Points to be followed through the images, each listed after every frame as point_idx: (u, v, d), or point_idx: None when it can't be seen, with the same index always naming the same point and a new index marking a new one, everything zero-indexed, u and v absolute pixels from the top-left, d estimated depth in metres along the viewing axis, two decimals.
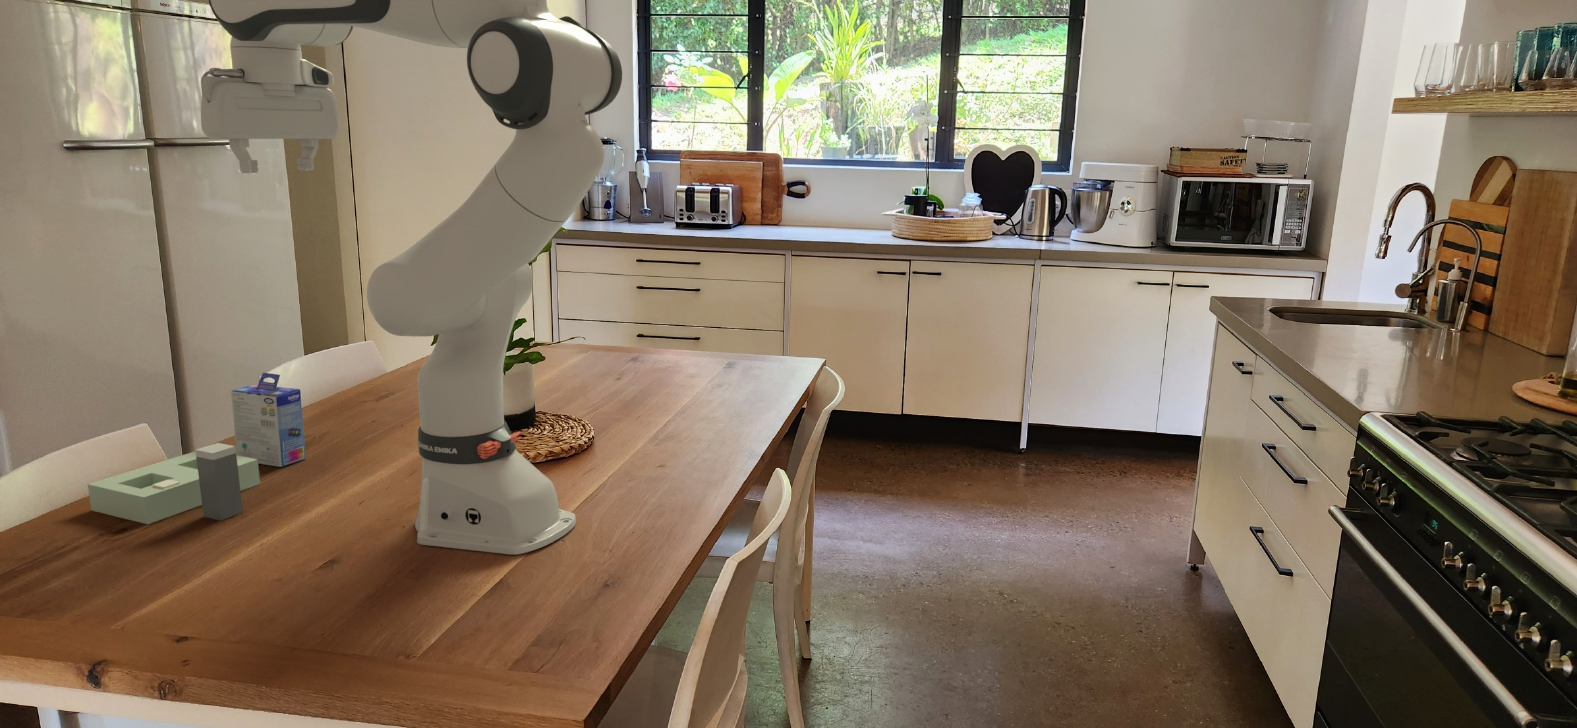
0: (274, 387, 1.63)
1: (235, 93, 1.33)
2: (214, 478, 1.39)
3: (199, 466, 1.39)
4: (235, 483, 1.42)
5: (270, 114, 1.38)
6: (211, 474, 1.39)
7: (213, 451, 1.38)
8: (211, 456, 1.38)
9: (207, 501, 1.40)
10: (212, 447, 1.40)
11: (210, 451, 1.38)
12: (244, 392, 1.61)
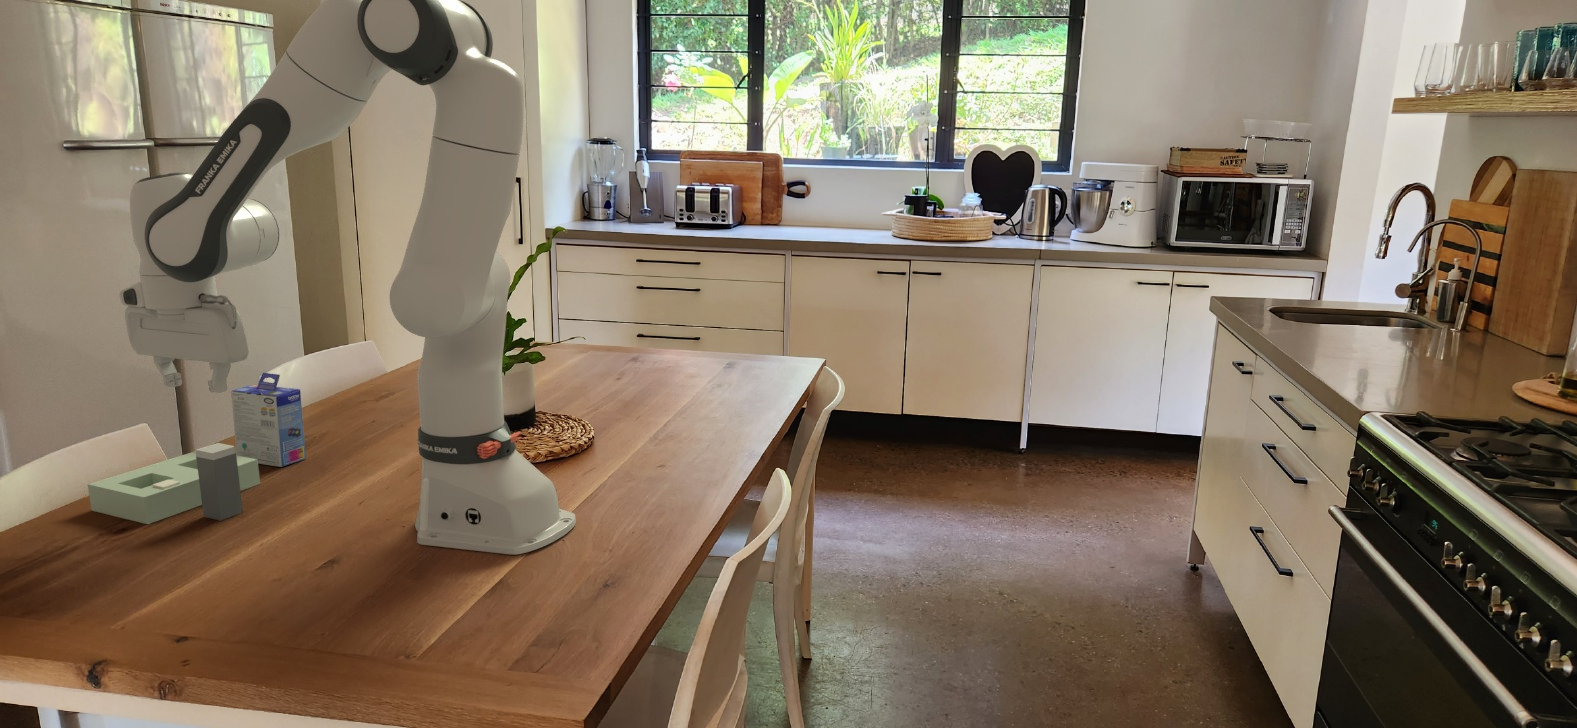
0: (274, 387, 1.63)
1: None
2: (214, 478, 1.39)
3: (199, 466, 1.39)
4: (235, 483, 1.42)
5: None
6: (211, 474, 1.39)
7: (213, 451, 1.38)
8: (211, 456, 1.38)
9: (207, 501, 1.40)
10: (212, 447, 1.40)
11: (210, 451, 1.38)
12: (244, 392, 1.61)
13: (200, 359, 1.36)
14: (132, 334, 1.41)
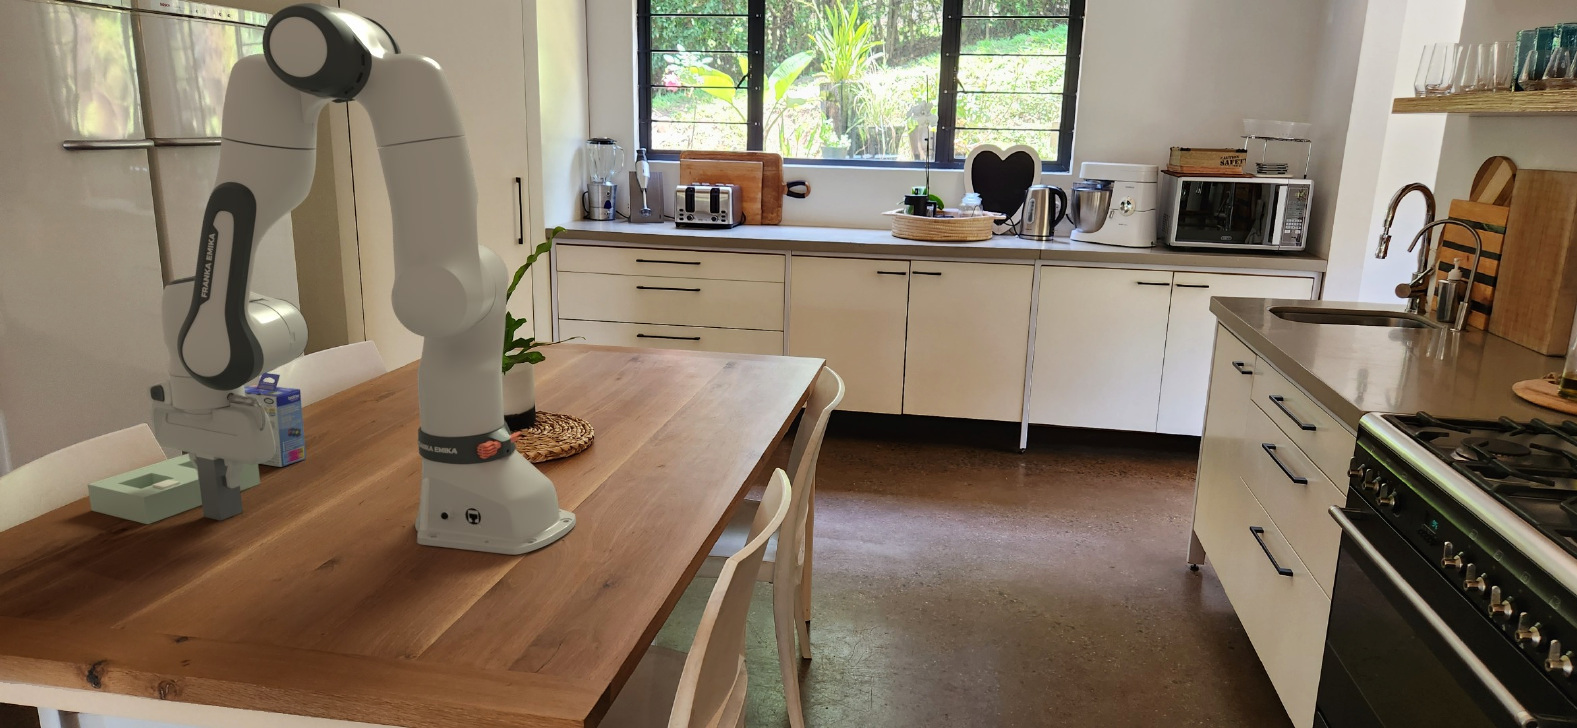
0: (274, 387, 1.63)
1: None
2: (214, 478, 1.39)
3: (199, 466, 1.39)
4: None
5: None
6: (212, 474, 1.39)
7: None
8: (211, 456, 1.38)
9: (207, 501, 1.40)
10: None
11: None
12: None
13: (226, 458, 1.37)
14: (157, 427, 1.41)
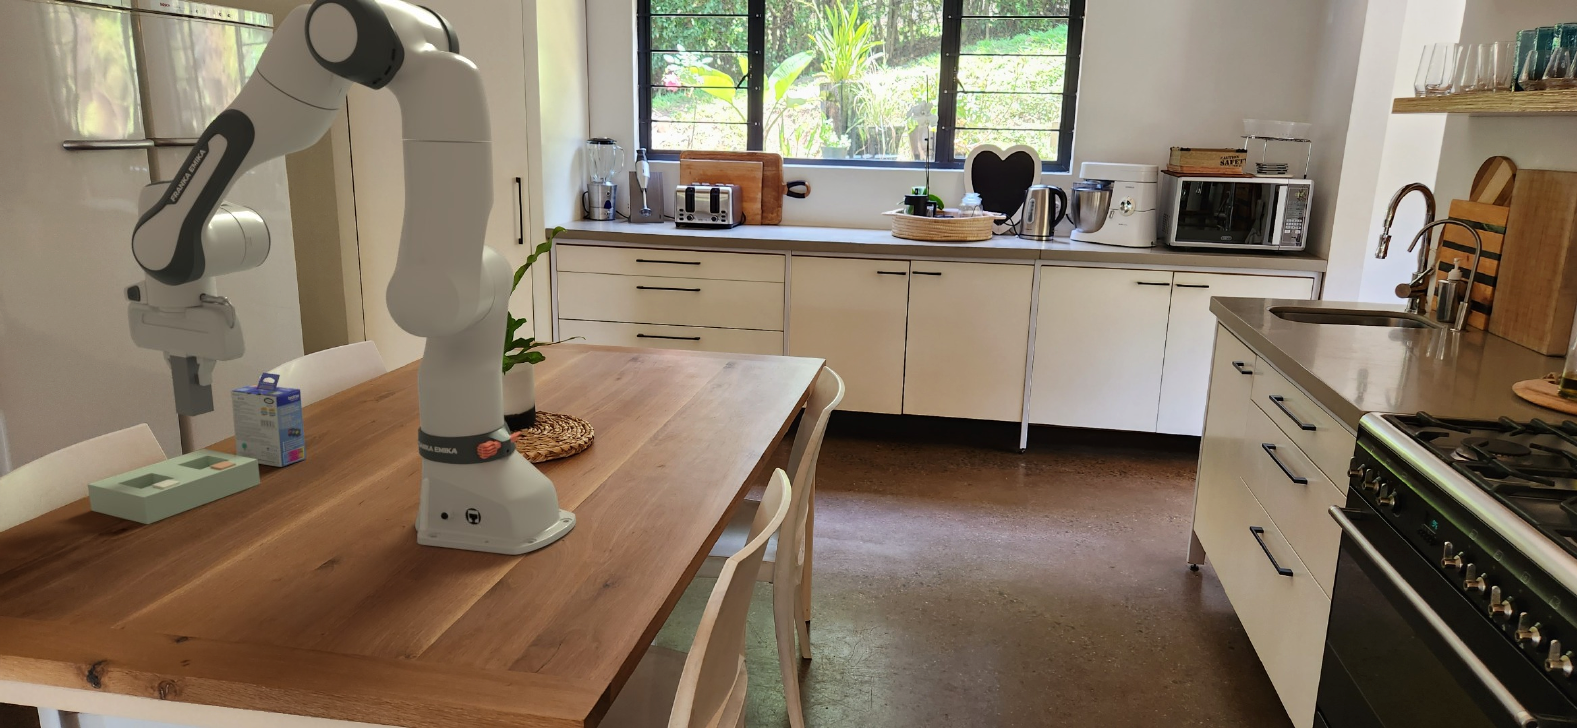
0: (274, 387, 1.63)
1: None
2: (186, 375, 1.46)
3: (172, 364, 1.47)
4: None
5: None
6: (184, 371, 1.46)
7: None
8: (184, 354, 1.46)
9: (180, 398, 1.48)
10: None
11: None
12: (244, 392, 1.61)
13: (198, 355, 1.44)
14: (133, 328, 1.49)
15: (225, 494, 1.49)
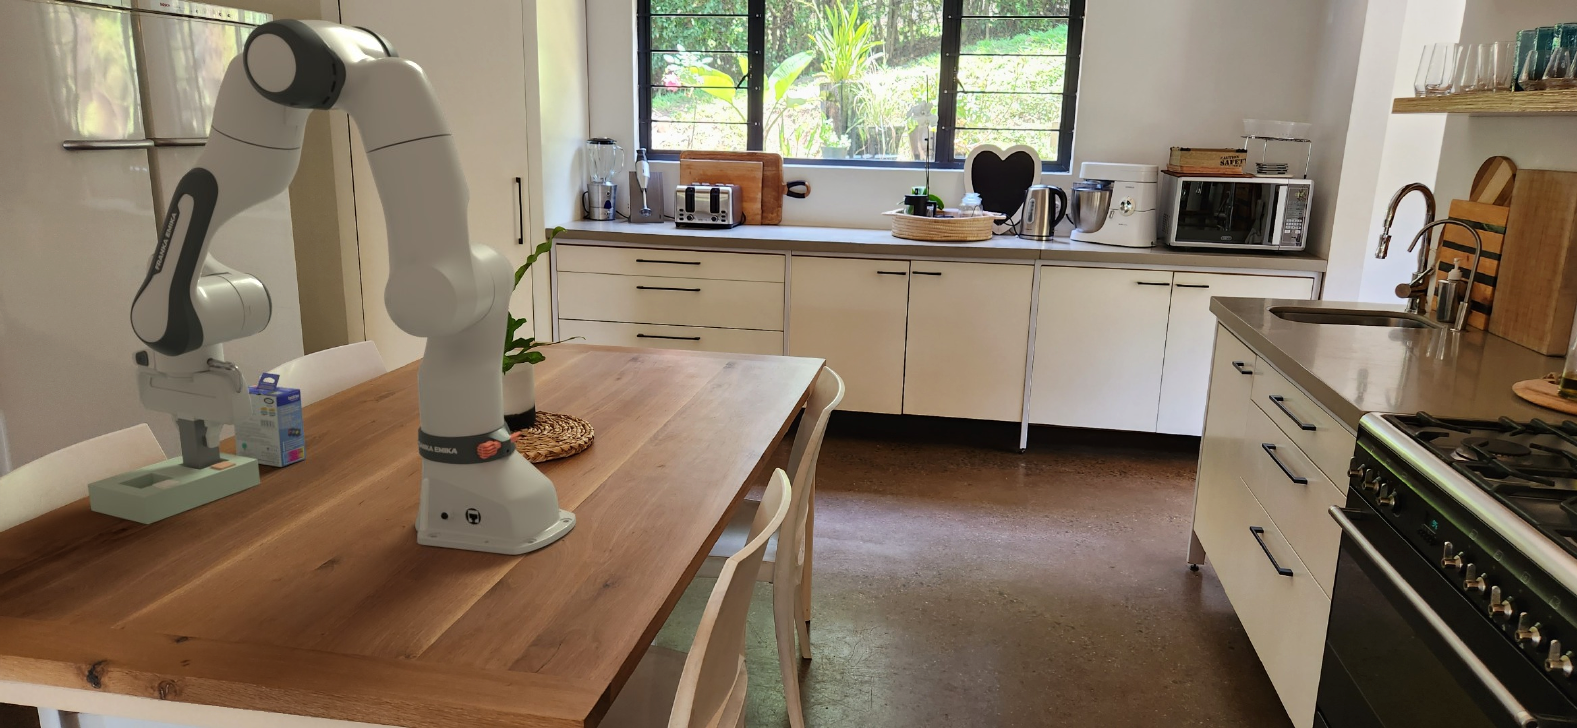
0: (274, 387, 1.63)
1: None
2: (194, 438, 1.48)
3: (180, 427, 1.49)
4: None
5: None
6: (192, 434, 1.48)
7: None
8: (191, 417, 1.48)
9: (188, 460, 1.50)
10: None
11: None
12: None
13: (206, 419, 1.47)
14: (142, 391, 1.51)
15: (225, 494, 1.49)
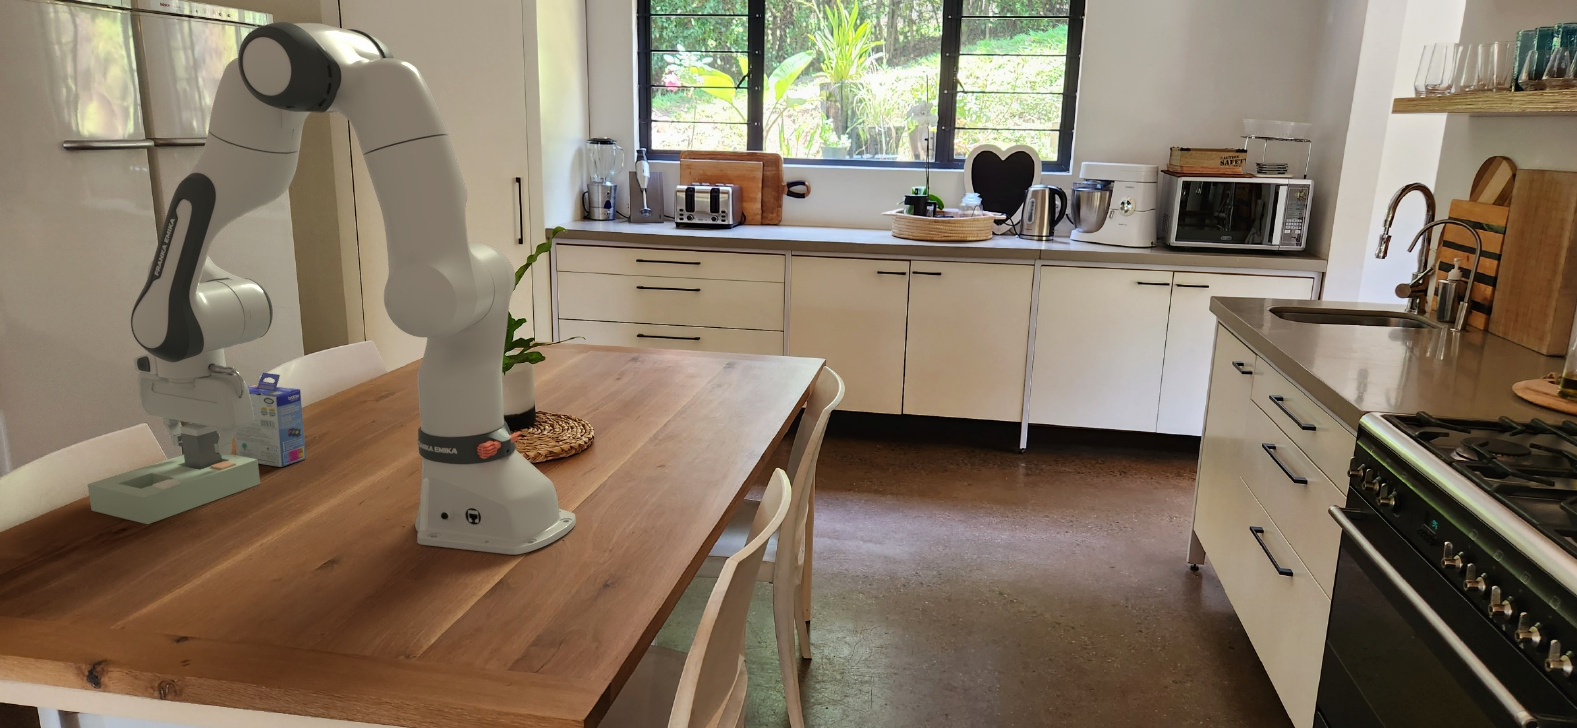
0: (274, 387, 1.63)
1: None
2: (198, 453, 1.49)
3: (184, 442, 1.50)
4: (217, 458, 1.52)
5: None
6: (195, 449, 1.49)
7: (197, 428, 1.49)
8: (195, 432, 1.48)
9: None
10: (196, 424, 1.50)
11: (194, 428, 1.49)
12: None
13: (208, 424, 1.47)
14: (144, 397, 1.51)
15: (225, 494, 1.49)
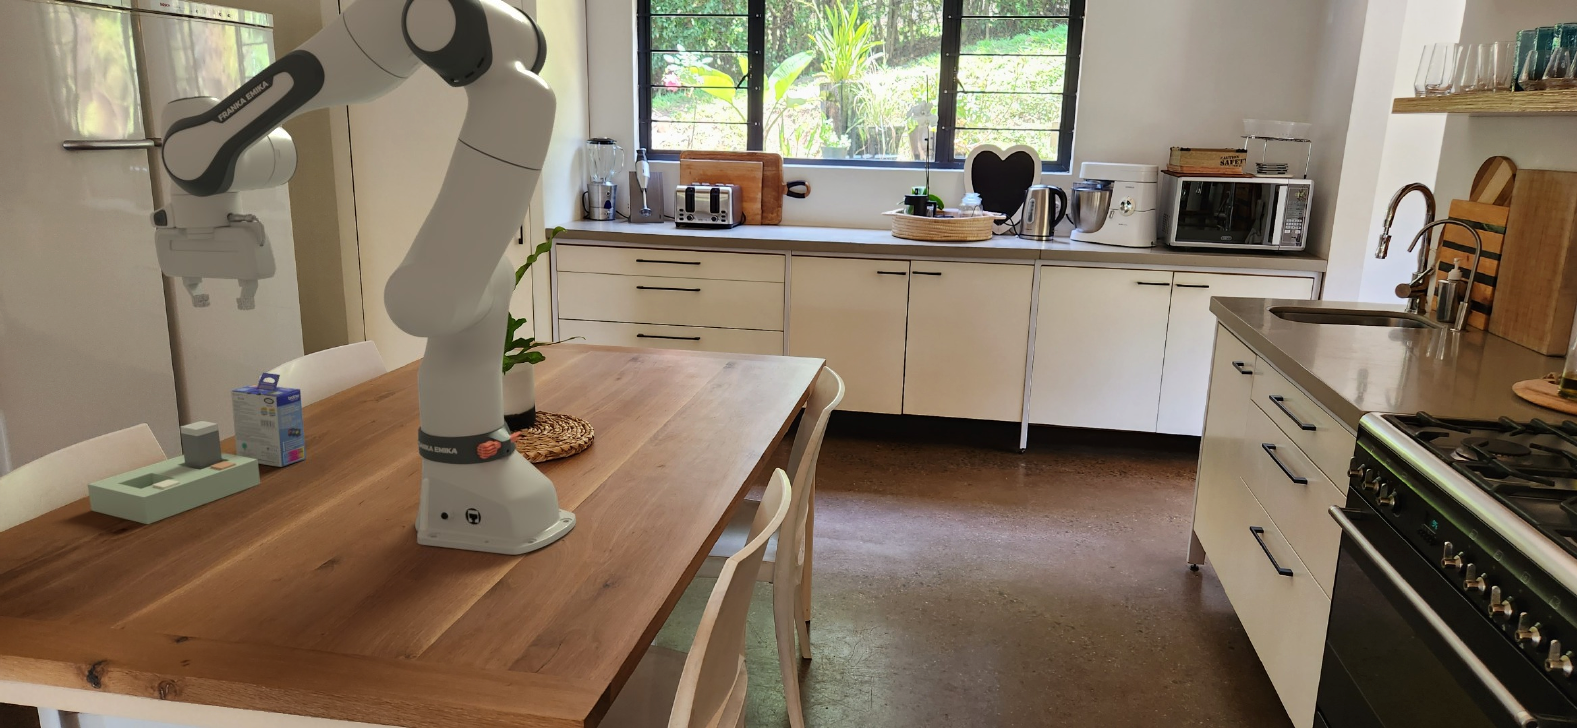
0: (274, 387, 1.63)
1: None
2: (198, 453, 1.49)
3: (184, 442, 1.50)
4: (218, 458, 1.52)
5: None
6: (195, 449, 1.49)
7: (197, 428, 1.49)
8: (195, 432, 1.48)
9: None
10: (196, 424, 1.50)
11: (194, 428, 1.49)
12: (244, 392, 1.61)
13: (229, 277, 1.42)
14: (161, 256, 1.46)
15: (225, 494, 1.49)
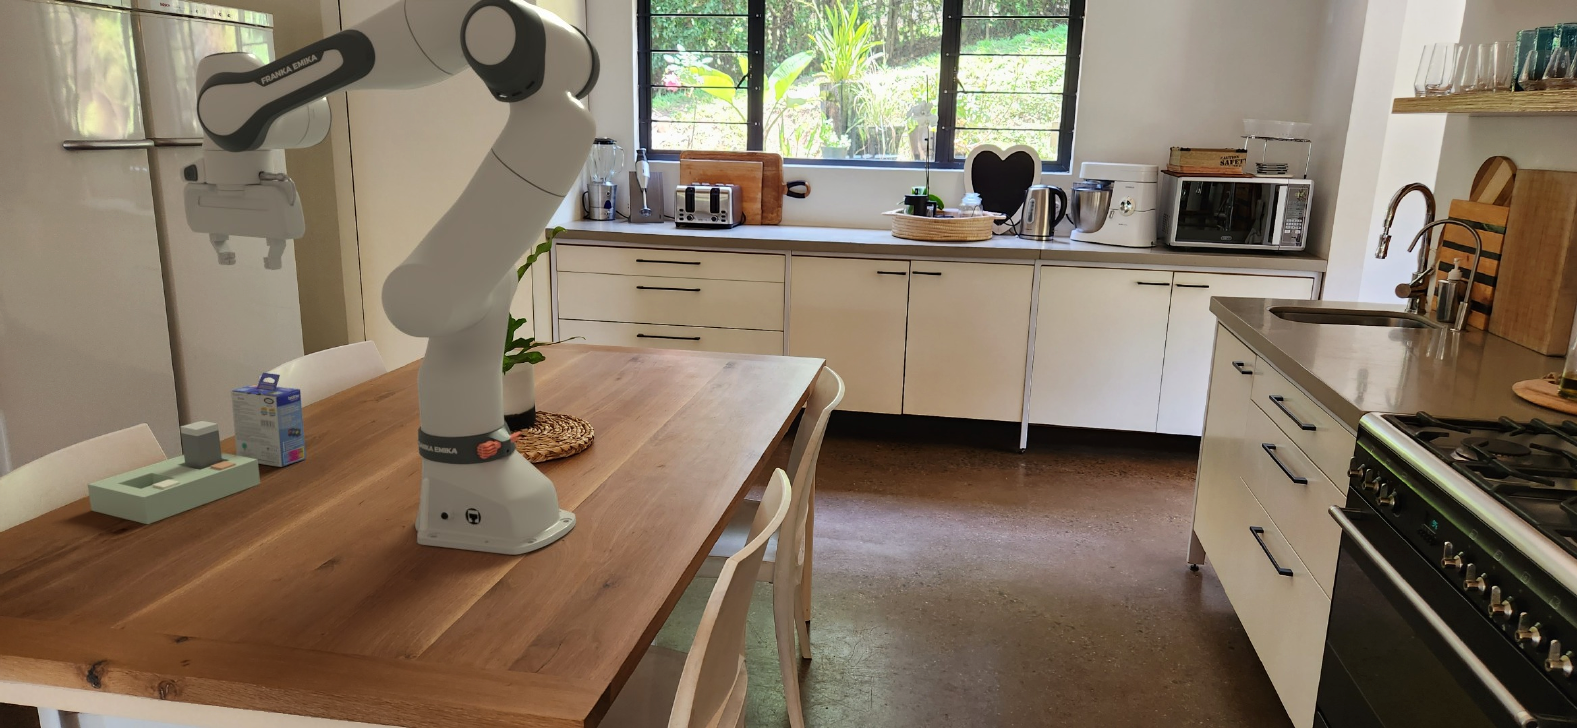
0: (274, 387, 1.63)
1: None
2: (198, 453, 1.49)
3: (184, 442, 1.50)
4: (218, 458, 1.52)
5: None
6: (195, 449, 1.49)
7: (197, 428, 1.49)
8: (195, 432, 1.48)
9: None
10: (196, 424, 1.50)
11: (194, 428, 1.49)
12: (244, 392, 1.61)
13: (258, 235, 1.41)
14: (189, 212, 1.45)
15: (225, 494, 1.49)
